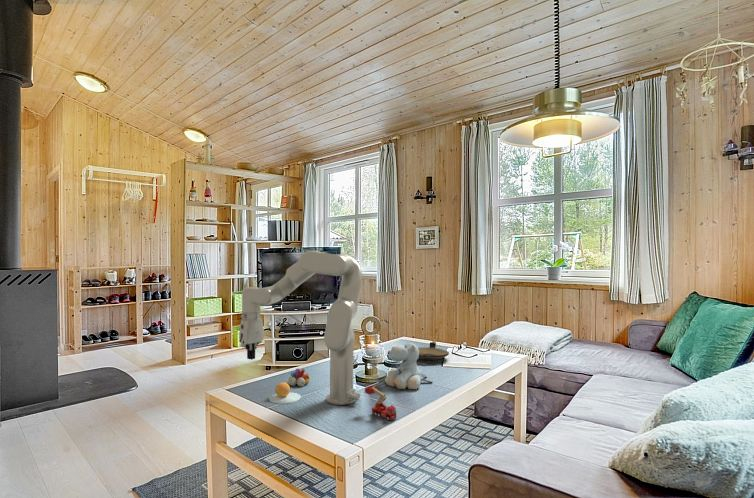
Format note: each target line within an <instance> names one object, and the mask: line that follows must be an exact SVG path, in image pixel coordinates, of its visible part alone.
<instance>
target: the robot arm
mask: <svg viewBox="0 0 754 498" xmlns="http://www.w3.org/2000/svg"><path fill="white" fill-rule="evenodd" d="M362 273H363V272H362V268H361V266H360V264H359V262H358V261H357V260H356V259H355V258H353V257H352V256H350V255H348V254H345V253H339V254H337V253H336V254H335V253H334V254H333V253H325V252H321V251H320V250H306V251H304V252H303V253H302V254H301V255H300V257H299V259H298V261H297V262H295V263H293V264H292V265H290V267H287V269H286V270H285V275H284V276H283V277H282V278H281V279H280V280H278V281H276V283H274V284H272V285H271V286H265V287H257V286H246V287H243V288H242V291H241V298H242V299H241V315H240V319H241V321H240V324H239V334H238V338H239V340H238V341H239V343H240V345H239V346H240V348H245V350H246V359H247V360H255V359H256V350H257V346H258V345H259V344H261V343H262V342H263V341H264V339H265V331H264V322H263V318H262V317H261V306H270V305H272V304H276V303H279V302H280V301H282V300H283V299H284V298H285V297H287V296H288V295H290V294H291V293H292V292H294V291H296V289H297V288H298V287H299V286H301V285H302V284H303V283H305V282H306V281H307V280H309V279H311V278H312V276H314V275H315V274H320V275H326V276H334V277H339V276H341V282H340V285H339V291H338V294H337V295H338V297H337V299H336V300H335V301H334V302H333V303H332V304H331V306H330V307H329V310H328V314H327V318H326V325H325V330H324V335H323V341H324V345H325V346H326V348H327V349H328V350H330V351H329V353H330V354H329V355H330V356H329V394H328V395H327V396H326V397H325V400H326V402H327V403H329V404H332V405H336V406H344V405H349V404H353V403H355V402H356V401H359V400H360V397H361V394H360V393H359V392H356V388H354V346H355V330H354V328H353V327H352V325H351V324H352V321H353V319H354V318H355V317H356V315H357V313H358V308H359V307H358V306H359V300H360V296H361V287H362V281H363V274H362Z"/></svg>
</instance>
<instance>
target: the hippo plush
mask: <svg viewBox="0 0 754 498" xmlns="http://www.w3.org/2000/svg"><path fill="white" fill-rule="evenodd" d="M418 348H419V347H418V346H417V345H416V344H414V343H413V342H408V343H405V345H399V344H396V345H393V346H392V347H391V348H390V351H389V356H390V358H391V359H392V360H393V361H395V362H397V363H398V362H400V364H399V366H398V368H397V369H394V368H392V369H390V370H389V371H388V372H387V376H385V378H384V382H385V383H386V385H388V386H389V387H391V386H392V387H393V388H395V387H396V388H397V389H398V390H401V389H404V390H406V389H408V390H411V389H416V390H418V389H419V388H420V386H421V381H422V382H426V383H430V382H432V383H433V382H434V380H428V379H422V378H425V377H427V376H428V375H427V374H426V373H424V372H422V371H421V369H420V368H419V367H418V366H417V365H418V364H417V360H418V359H419V358H418V357H419V349H418ZM427 378H428V377H427ZM392 387H391V388H392ZM417 388H418V389H417Z"/></svg>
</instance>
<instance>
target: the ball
mask: <svg viewBox="0 0 754 498" xmlns="http://www.w3.org/2000/svg"><path fill="white" fill-rule="evenodd" d="M274 392H275V394H277V395H278V396H279V397H285V396H287V395H288V394H289V392H291V387H290V385H289V383H287V382H285V381H283V382H282V381H281V382H279V383H277V385H276V386H275V390H274Z"/></svg>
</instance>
